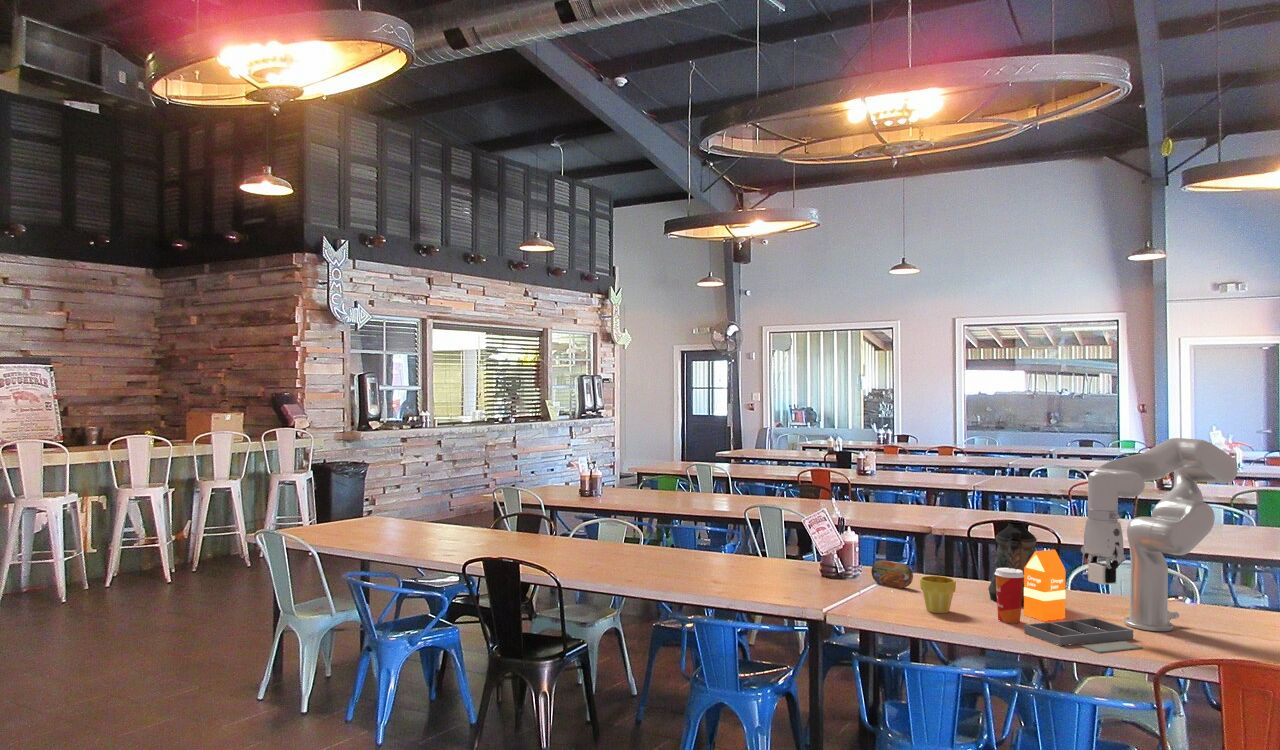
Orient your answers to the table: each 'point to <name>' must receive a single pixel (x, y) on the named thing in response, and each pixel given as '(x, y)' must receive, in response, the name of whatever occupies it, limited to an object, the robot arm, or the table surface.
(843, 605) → the table surface
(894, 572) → the tin
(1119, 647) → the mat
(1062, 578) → the orange juice
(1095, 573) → the letter cube
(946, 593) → the plant pot
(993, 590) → the dark ornate vase
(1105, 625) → the sorting box
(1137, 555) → the robot arm
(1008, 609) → the coffee cup
